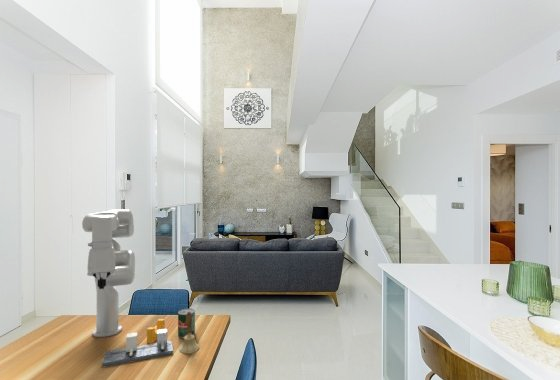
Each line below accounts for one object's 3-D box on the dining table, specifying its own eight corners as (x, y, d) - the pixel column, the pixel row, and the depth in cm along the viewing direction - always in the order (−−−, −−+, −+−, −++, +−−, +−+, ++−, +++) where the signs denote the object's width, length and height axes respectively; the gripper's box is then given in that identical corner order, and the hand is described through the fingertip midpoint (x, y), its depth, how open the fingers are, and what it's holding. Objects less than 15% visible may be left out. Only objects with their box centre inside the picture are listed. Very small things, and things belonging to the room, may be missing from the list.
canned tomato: (194, 330, 156) (194, 307, 157) (195, 336, 149) (195, 313, 149) (177, 332, 154) (177, 309, 154) (177, 339, 146) (177, 315, 147)
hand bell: (180, 355, 131) (181, 316, 132) (178, 347, 139) (178, 310, 139) (201, 351, 135) (201, 313, 135) (197, 343, 142) (197, 307, 143)
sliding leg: (126, 348, 134) (126, 333, 134) (137, 346, 135) (137, 332, 135) (125, 357, 126) (125, 342, 126) (136, 355, 128) (136, 340, 128)
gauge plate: (105, 355, 132) (105, 337, 132) (171, 343, 142) (171, 326, 142) (102, 367, 122) (102, 347, 123) (172, 354, 132) (173, 336, 133)
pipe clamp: (156, 332, 155) (156, 318, 155) (164, 332, 154) (164, 319, 154) (143, 343, 143) (143, 328, 143) (152, 343, 142) (152, 329, 142)
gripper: (80, 247, 129) (79, 292, 128) (121, 245, 134) (120, 288, 134) (83, 245, 136) (83, 288, 135) (122, 242, 141) (122, 284, 141)
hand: (101, 288), depth 135 cm, fingers closed
